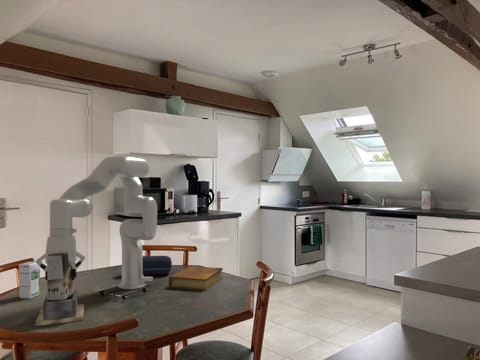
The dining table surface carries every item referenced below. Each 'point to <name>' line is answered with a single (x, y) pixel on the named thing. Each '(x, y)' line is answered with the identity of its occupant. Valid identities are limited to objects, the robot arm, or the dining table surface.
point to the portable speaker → (156, 265)
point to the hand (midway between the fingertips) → (61, 280)
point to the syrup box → (29, 280)
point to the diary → (196, 278)
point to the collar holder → (60, 311)
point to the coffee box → (59, 277)
